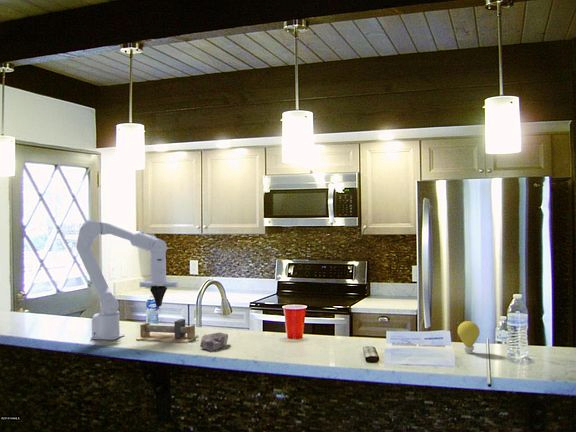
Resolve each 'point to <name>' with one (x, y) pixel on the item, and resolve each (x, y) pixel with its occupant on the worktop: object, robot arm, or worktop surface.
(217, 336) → the rock
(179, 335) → the collar
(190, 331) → the pipe rig
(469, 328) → the light bulb
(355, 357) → the worktop surface
